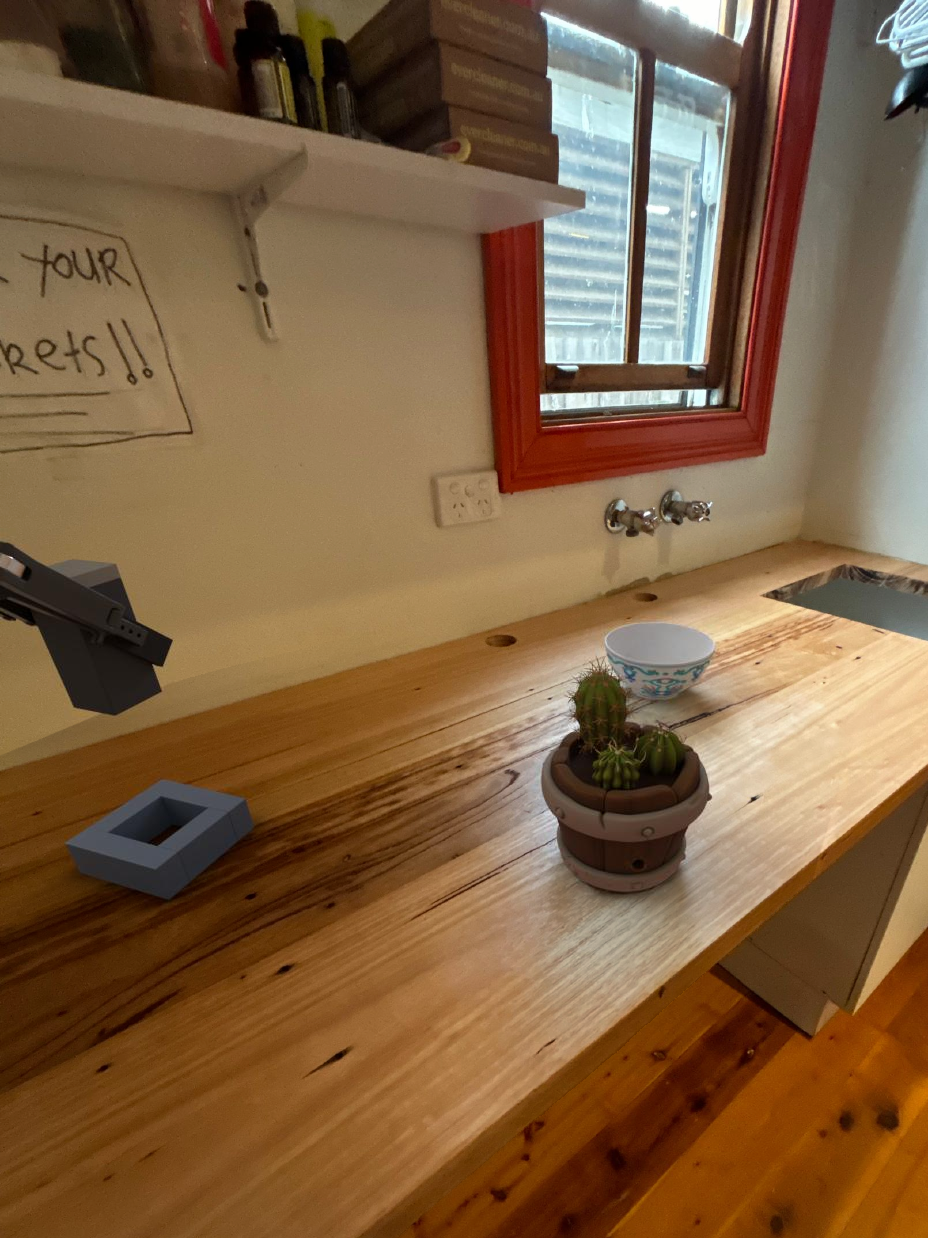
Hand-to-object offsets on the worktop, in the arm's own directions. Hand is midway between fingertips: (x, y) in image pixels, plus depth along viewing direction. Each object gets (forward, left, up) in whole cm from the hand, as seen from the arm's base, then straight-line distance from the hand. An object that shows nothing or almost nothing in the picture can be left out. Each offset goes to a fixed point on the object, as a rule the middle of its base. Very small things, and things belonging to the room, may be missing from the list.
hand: (140, 649), depth 59 cm
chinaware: (+33, +49, -19) cm, 62 cm away
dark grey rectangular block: (+1, -4, -3) cm, 5 cm away
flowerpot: (+43, +14, -19) cm, 49 cm away
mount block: (+4, -6, -18) cm, 20 cm away
